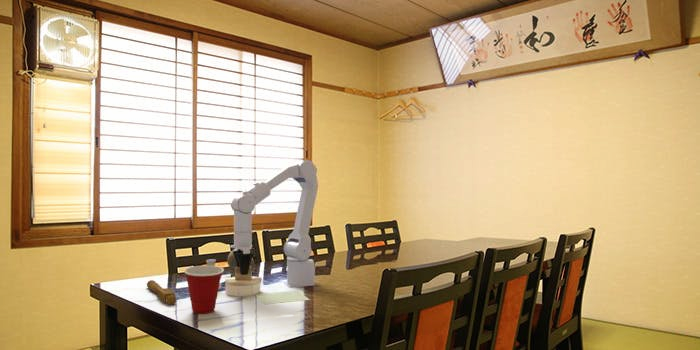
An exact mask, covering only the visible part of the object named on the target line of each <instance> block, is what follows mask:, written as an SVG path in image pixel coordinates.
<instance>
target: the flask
mask: <svg viewBox="0 0 700 350" xmlns="http://www.w3.org/2000/svg"><path fill="white" fill-rule="evenodd" d="M205 262H206V266H216V262H217V259H213V258H211V259H207V260H205ZM222 286H223V285H222V284H221V282H220V283H219V289H218V290H221V289H222V288H223V287H222Z"/></svg>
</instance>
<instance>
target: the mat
mask: <svg viewBox="0 0 700 350" xmlns="http://www.w3.org/2000/svg"><path fill="white" fill-rule="evenodd" d="M254 296H256V298H258V299H259V300H260V301H261V303H262V304H263V305H272V304H281V303H282V304H283V303H292V302H301V301H302V302H303V301H304V302H305V301H310V300H311V299H310V298H309V297H307V296H305V295H304V294H303V293H301V292H300V291H299V290H290V291H289V290H287V291H278V292H267V293H266V292H265V293H264V292H263V293H256V294H254Z"/></svg>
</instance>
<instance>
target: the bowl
mask: <svg viewBox="0 0 700 350" xmlns="http://www.w3.org/2000/svg"><path fill="white" fill-rule="evenodd" d="M224 283H225V285H224V286H225V288H224V289H225V294H226V295H227V296H233V297H234V296H235V297H243V296H253V295H254V296H255V294H260V293H261V282H260V283H258V284H254V285H247V286H232V285H227V284H226V281H225V282H224Z"/></svg>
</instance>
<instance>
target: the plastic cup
mask: <svg viewBox="0 0 700 350" xmlns="http://www.w3.org/2000/svg"><path fill="white" fill-rule="evenodd" d="M224 270H225V269H224V268H223V267H220V266H216V265H215V266H207V265H195V266H190V267H186V268H185V269H184V270H183V272H184V274H185V278H186V281H187V287H188V293H189V299H190V302H191V303H190V304H191V310H192V313H193V314H198V315H203V314H211V313H213V312H215V309H216V303H217V299H218V294H219V293H218V292H219V290H220V289H219V283H221V278H222V275H223V273H224V272H225V271H224Z"/></svg>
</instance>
